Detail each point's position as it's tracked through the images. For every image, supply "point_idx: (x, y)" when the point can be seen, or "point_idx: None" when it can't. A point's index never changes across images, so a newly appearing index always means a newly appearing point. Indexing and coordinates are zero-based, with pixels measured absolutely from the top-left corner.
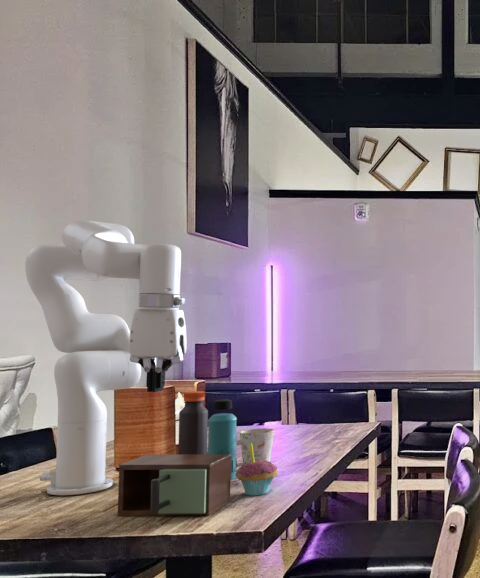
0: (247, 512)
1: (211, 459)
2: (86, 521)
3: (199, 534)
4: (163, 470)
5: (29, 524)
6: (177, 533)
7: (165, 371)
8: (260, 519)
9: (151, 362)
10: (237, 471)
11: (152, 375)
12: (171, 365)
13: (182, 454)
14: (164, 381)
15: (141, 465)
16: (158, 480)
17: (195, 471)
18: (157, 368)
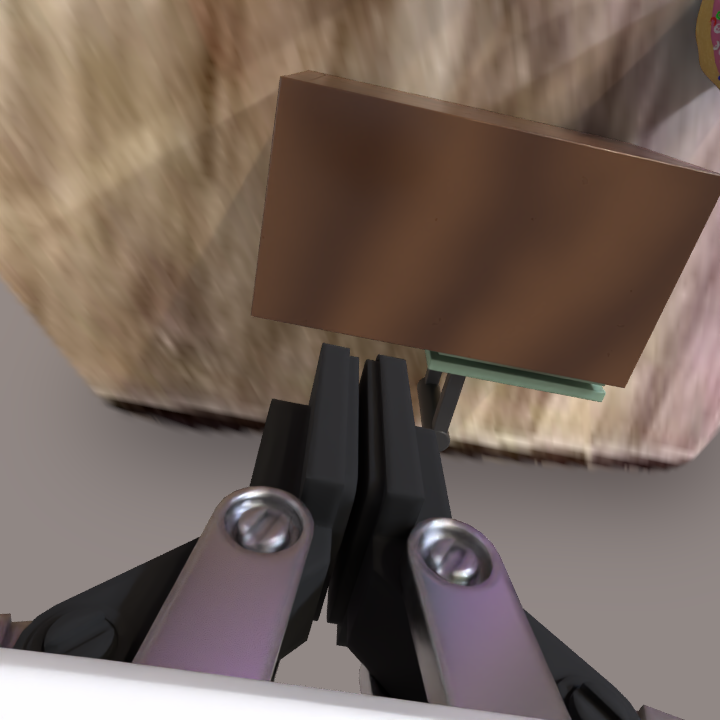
0: (679, 298)
1: (630, 289)
2: (213, 287)
3: (552, 457)
4: (443, 371)
5: (58, 282)
6: (499, 440)
7: (453, 527)
8: (708, 375)
9: (201, 637)
10: (712, 17)
11: (329, 605)
12: (575, 662)
13: (476, 121)
14: (436, 461)
15: (347, 333)
16: (447, 446)
17: (564, 393)
18: (383, 686)
